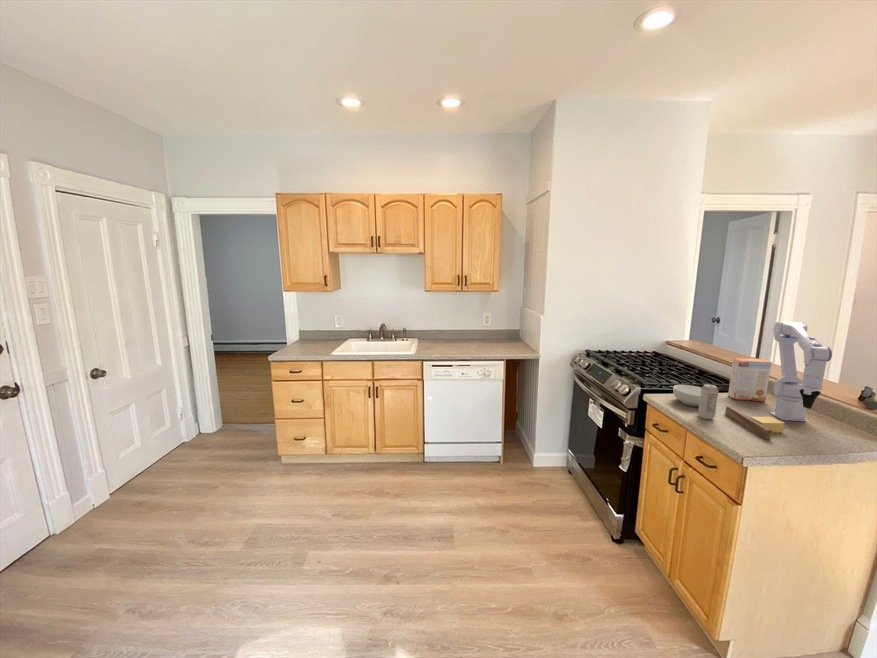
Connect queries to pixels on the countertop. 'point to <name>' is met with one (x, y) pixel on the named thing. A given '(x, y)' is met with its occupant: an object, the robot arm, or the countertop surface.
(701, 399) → the energy drink can
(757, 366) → the cracker box
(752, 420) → the walnut board
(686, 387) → the cereal bowl
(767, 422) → the ochre block
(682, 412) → the countertop surface
